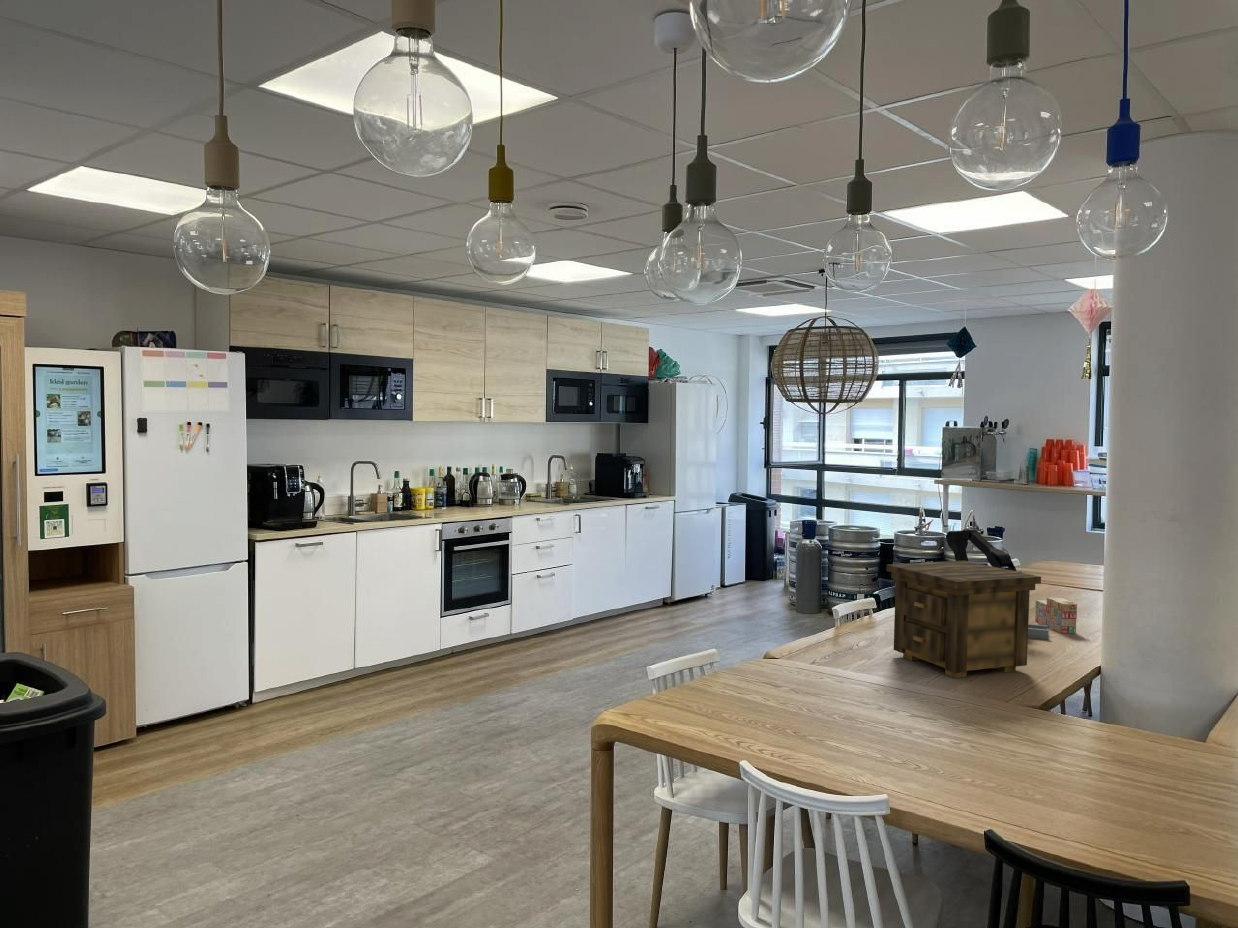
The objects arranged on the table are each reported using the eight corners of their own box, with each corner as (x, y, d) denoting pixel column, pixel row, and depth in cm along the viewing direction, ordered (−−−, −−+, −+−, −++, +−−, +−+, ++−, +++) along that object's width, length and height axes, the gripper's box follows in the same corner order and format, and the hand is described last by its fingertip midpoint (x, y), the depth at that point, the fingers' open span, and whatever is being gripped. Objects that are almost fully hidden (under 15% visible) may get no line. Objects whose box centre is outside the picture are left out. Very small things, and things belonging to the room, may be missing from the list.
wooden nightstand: (1037, 673, 284) (1041, 576, 283) (954, 683, 272) (957, 581, 271) (961, 647, 317) (964, 560, 316) (883, 655, 305) (886, 564, 303)
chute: (992, 633, 340) (992, 624, 340) (992, 628, 348) (992, 620, 348) (1048, 639, 332) (1048, 630, 332) (1046, 634, 340) (1047, 625, 340)
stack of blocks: (1034, 621, 364) (1035, 592, 363) (1049, 621, 364) (1050, 593, 363) (1060, 633, 343) (1062, 603, 342) (1076, 633, 343) (1077, 603, 342)
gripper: (974, 585, 339) (972, 624, 339) (1025, 589, 331) (1024, 629, 332) (974, 581, 349) (973, 619, 350) (1025, 585, 341) (1023, 623, 342)
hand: (998, 622), depth 343 cm, fingers closed
